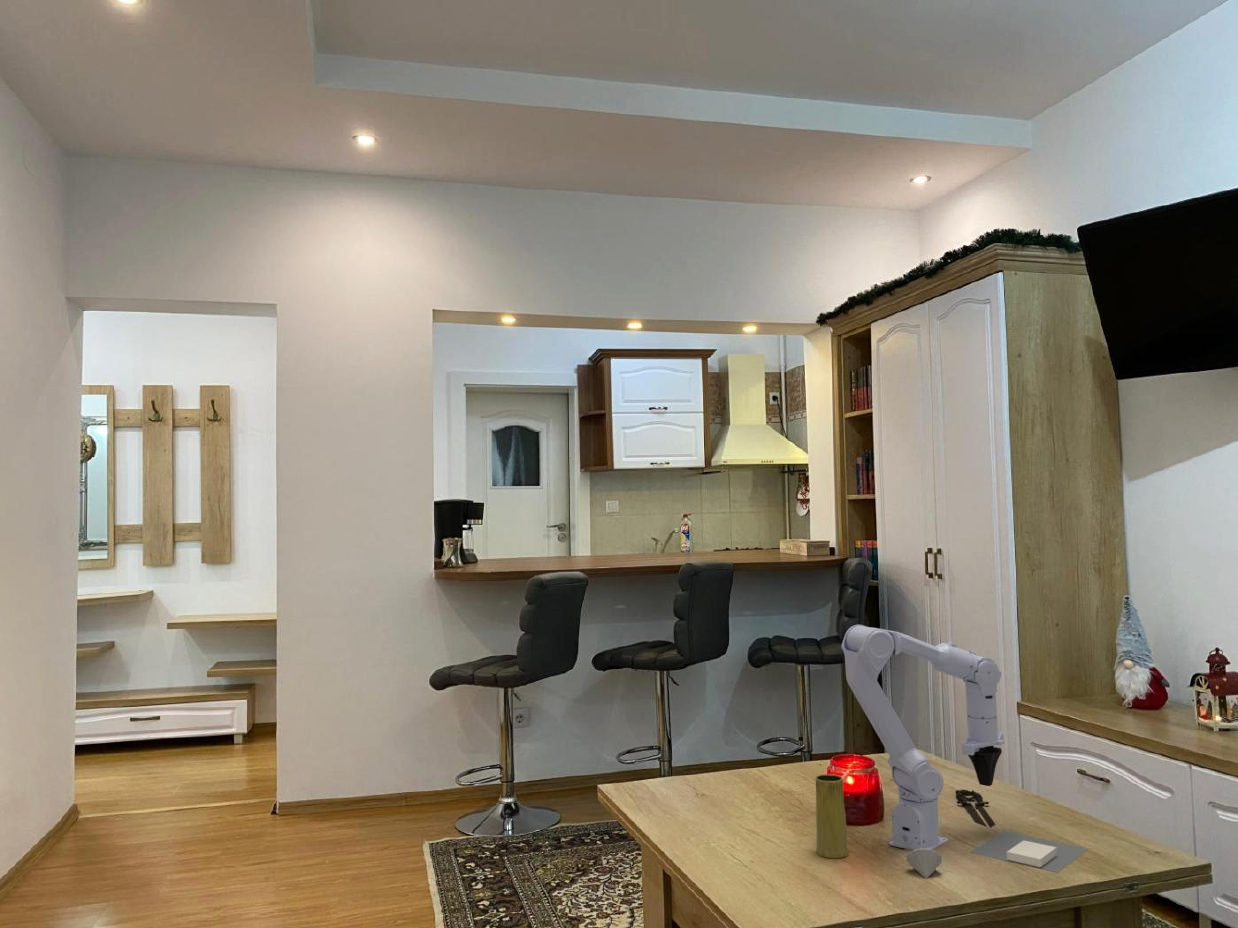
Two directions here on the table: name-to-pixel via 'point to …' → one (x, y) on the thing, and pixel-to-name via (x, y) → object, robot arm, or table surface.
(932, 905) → the table surface
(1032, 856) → the tile
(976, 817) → the dark ornate flat tool
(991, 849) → the mat
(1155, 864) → the table surface
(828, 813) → the vase
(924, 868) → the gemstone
